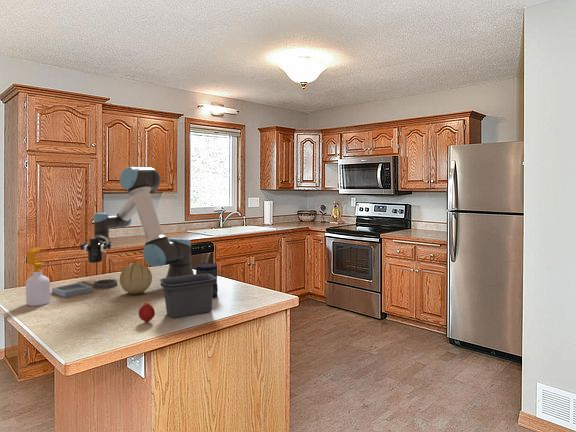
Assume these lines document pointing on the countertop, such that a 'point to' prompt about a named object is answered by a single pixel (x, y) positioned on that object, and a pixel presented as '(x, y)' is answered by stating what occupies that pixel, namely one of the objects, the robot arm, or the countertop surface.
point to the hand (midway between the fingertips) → (93, 249)
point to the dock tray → (71, 290)
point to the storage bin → (188, 294)
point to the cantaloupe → (135, 278)
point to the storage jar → (209, 269)
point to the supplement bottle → (94, 251)
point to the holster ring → (105, 283)
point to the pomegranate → (146, 312)
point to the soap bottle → (37, 283)
